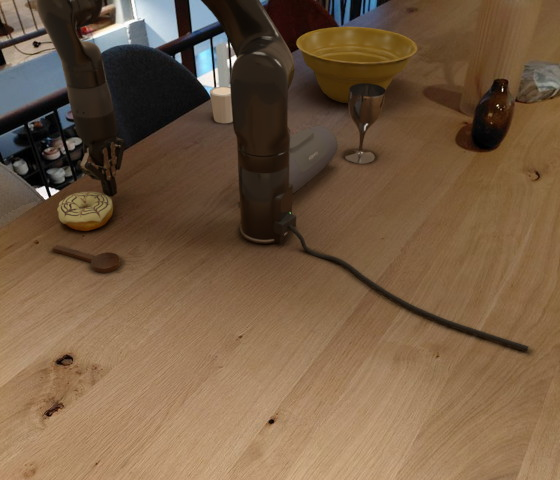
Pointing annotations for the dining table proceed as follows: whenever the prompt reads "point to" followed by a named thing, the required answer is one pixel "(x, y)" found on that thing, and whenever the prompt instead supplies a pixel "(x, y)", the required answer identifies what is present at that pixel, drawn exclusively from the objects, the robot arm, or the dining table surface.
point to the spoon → (93, 259)
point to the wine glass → (364, 115)
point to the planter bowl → (354, 57)
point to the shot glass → (221, 104)
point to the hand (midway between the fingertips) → (111, 194)
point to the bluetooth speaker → (310, 154)
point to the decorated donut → (85, 210)
